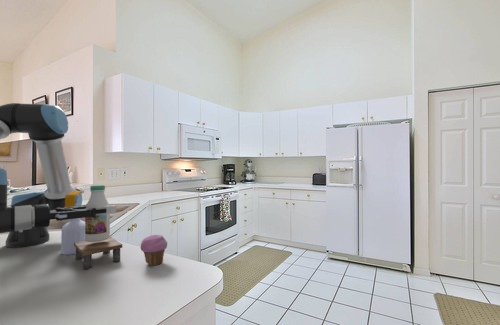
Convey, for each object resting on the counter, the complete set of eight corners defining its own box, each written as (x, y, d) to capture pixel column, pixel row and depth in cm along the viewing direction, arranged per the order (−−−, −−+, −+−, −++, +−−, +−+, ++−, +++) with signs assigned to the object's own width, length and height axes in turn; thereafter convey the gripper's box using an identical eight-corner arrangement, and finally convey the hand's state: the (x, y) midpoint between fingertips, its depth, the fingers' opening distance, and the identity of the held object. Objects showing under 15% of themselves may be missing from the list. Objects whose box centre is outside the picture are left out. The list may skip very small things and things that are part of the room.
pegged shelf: (73, 258, 92) (74, 242, 92) (109, 250, 101) (109, 236, 101) (83, 270, 81) (83, 252, 81) (122, 260, 89) (122, 244, 89)
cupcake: (170, 264, 85) (170, 235, 86) (144, 271, 80) (144, 240, 80) (162, 257, 92) (162, 230, 93) (137, 262, 87) (137, 234, 87)
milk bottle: (92, 237, 94) (92, 184, 95) (113, 236, 95) (113, 184, 96) (80, 243, 87) (80, 186, 87) (103, 242, 87) (103, 185, 88)
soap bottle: (93, 247, 105) (93, 190, 105) (76, 255, 96) (76, 192, 96) (74, 247, 106) (74, 190, 106) (55, 254, 97) (55, 192, 97)
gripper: (31, 223, 86) (104, 214, 102) (35, 234, 71) (120, 221, 87) (31, 202, 86) (104, 196, 102) (35, 208, 71) (120, 200, 87)
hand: (112, 208), depth 95 cm, fingers closed on milk bottle, 8 cm apart
